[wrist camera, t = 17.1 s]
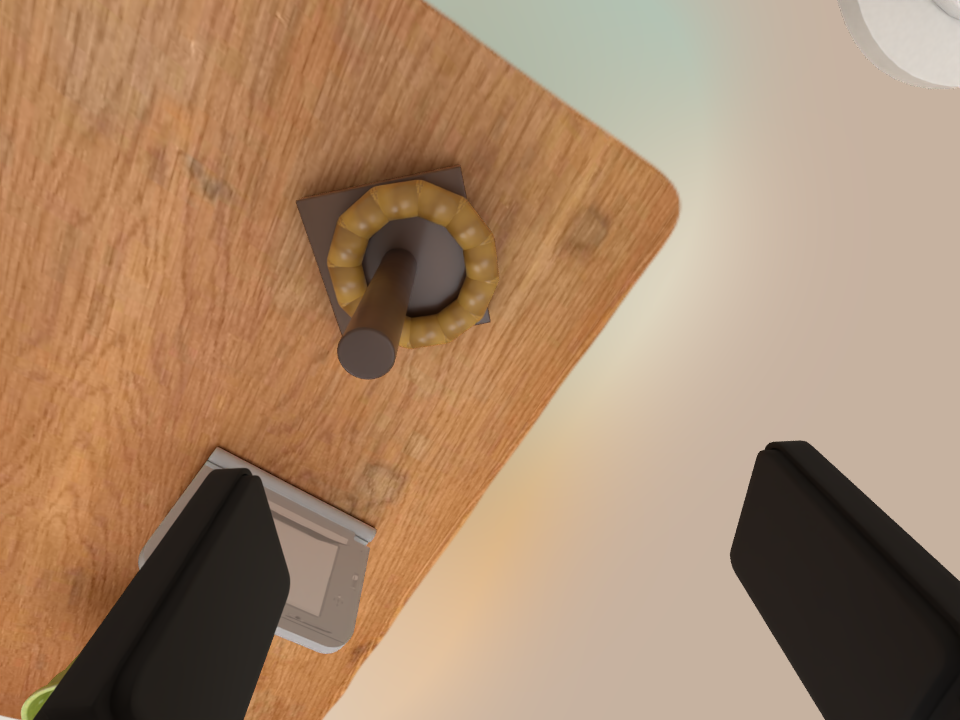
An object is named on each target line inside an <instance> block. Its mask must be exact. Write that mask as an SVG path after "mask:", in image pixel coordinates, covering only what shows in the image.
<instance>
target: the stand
mask: <svg viewBox="0 0 960 720" xmlns="http://www.w3.org/2000/svg"><path fill="white" fill-rule="evenodd" d="M411 180H424V181H427V182H429V183H431V184H434V185H436V186H439V187H441V188H444V189H446V190H448V191H451V192H453V193H456V194H458V195H460V196H462V197H464V198H465V199H467V197H466V192H465V187H464V182H463V176H462V171H461V167H460V165H455V166H450V167H445V168H440V169H436V170H431V171H426V172H421V173H417V174H412V175H407V176H402V177H398V178H393V179H388V180H383V181H379V182H374V183H369V184H364V185H360V186H355V187H350V188H345V189H341V190H336V191H331V192H326V193H322V194H317V195H312V196H307V197H303V198H301V199H299V200H297V201H296V204H297V207H298V210H299V213H300V216H301V218H302V221H303V224H304V227H305V230H306V233H307V236H308V239H309V242H310V244H311V247H312V250H313V253H314V256H315V259H316V262H317V265H318V268H319V270H320V273H321V276H322V279H323V282H324V285H325V288H326V291H327V294H328V297H329V299H330V302H331V305H332V308H333V311H334V314H335V317H336V320H337V323H338V325H339V328H340V331H341V334H342V337H341V339H340V341H339V344H338V348H337V354H338V359H339V361H340V363H341V365H342V366H343V368H344V369H345V370H346V371H347V372H348V373H350V374H351V375H353V376H355V377H358V378H361V379H375V378H379V377H381V376H383V375H385V374H386V373H388V372H389V371H390V369H391V368H392V367H393V365H394V362H395V358H396V354H397V350H398V346H399V342H400V338H401V333H402V329H403V325H404V321H405V317H406V316H408V317H411V318H414V317H420V316H427V315H434V314H438V313H439V312H440V311H442V310H443V309H444V308H446V307H447V306H448V305H449V304H451V303H452V302H453V301H455V300H456V299H457V298H458V295H459V293H460V290H461V288H462V285H463V283H464V280H465V278H466V268H465V262H464V256H463V249H462V248H461V247H460V245H459V244H458V243H457V242H456V240H455V239H454V238H453V237H452V235H451V234H450V233H449V232H448V230H447V229H446V228H445V227H443V226H441V225H438V224H435V223H433V222H430V221H428V220H425V219H423V218H420V217H412V218H406V219H399V220H393V221H389V222H388V223H387V224H386V225H385V226H383V227H382V228H381V229H380V230H379V231H378V232H376V233H375V234H374V235H373V236H372V237H371V238H369V241H368V245H367V248H366V251H365V254H364V258H363V261H362V267H363V271H364V275H365V279H366V283H367V287H368V288H367V289H366V291H365V293H364V295H363V297H362V299H361V301H360V303H359V305H358V307H357V309H356V311H355V312H354V314H353V316H352V318H351V317H350V316H349V315H348V314H347V313H346V312H345V311H344V310H343V309H342V308H341V307H340V305H339V304H338V301H337V298H336V294H335V291H334V287H333V284H332V280H331V277H330V273H329V270H328V266H327V257H328V253H329V250H330V246H331V242H332V239H333V235H334V231H335V227H336V224H337V221H338V219H339V217H340V216H341V215H342V214H343V213H344V212H345V211H346V210H347V209H348V208H349V207H351V206H352V205H353V204H354V203H355V202H356V201H357V200H358V199H360V198H361V197H362V196H363V195H364V194H365V193H366V192H367V191H369V190H370V189H371V188H373V187H375V186H379V185H386V184H392V183H398V182H405V181H411ZM489 322H490V316H489V310H488V307H487V310H486V312H485V314H484V316H483V318H482V319H481V320H480V321H479V322H477V323H476V324H475V325H479V324H484V323H489ZM473 326H474V325H473Z"/></svg>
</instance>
